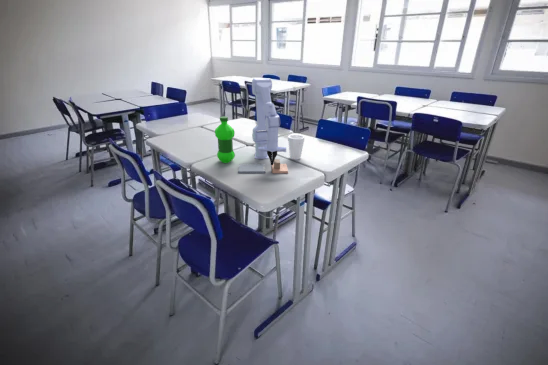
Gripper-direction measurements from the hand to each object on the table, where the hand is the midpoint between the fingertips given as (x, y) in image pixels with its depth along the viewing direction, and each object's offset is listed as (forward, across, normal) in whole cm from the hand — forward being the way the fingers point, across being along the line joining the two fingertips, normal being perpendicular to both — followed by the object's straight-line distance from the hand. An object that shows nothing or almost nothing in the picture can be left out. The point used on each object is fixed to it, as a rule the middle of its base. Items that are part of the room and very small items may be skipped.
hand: (271, 164), depth 149 cm
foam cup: (+3, +14, +18) cm, 23 cm away
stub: (+3, +4, 0) cm, 5 cm away
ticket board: (+3, -10, 0) cm, 11 cm away
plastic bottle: (+3, -26, +12) cm, 28 cm away
